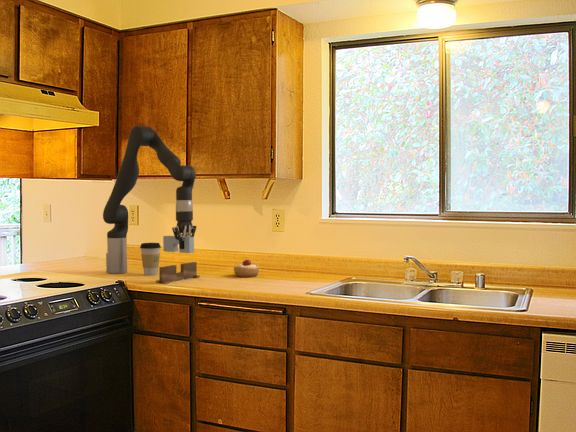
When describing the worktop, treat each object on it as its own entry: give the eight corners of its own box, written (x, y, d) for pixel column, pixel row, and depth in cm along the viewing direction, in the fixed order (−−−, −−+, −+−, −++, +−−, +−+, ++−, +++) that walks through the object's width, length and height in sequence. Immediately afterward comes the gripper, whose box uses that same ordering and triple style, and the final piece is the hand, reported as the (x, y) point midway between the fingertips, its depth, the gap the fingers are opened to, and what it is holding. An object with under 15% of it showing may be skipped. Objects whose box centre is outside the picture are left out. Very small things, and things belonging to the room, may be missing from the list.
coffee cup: (165, 274, 298) (164, 243, 297) (146, 276, 291) (146, 244, 290) (154, 272, 305) (154, 242, 304) (136, 274, 299) (136, 243, 298)
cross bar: (163, 251, 284) (163, 236, 283) (168, 250, 286) (167, 235, 286) (189, 253, 275) (189, 237, 274) (194, 252, 277) (193, 236, 277)
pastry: (261, 275, 298) (262, 257, 298) (255, 278, 287) (256, 259, 286) (237, 274, 300) (237, 255, 300) (230, 277, 289) (231, 258, 288)
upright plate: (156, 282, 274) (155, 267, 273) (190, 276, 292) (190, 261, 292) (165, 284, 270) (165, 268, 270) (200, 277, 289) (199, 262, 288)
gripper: (188, 209, 285) (189, 246, 286) (166, 210, 273) (167, 249, 274) (201, 209, 281) (201, 247, 282) (179, 211, 269) (179, 250, 270)
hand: (184, 248), depth 278 cm, fingers closed on cross bar, 3 cm apart
